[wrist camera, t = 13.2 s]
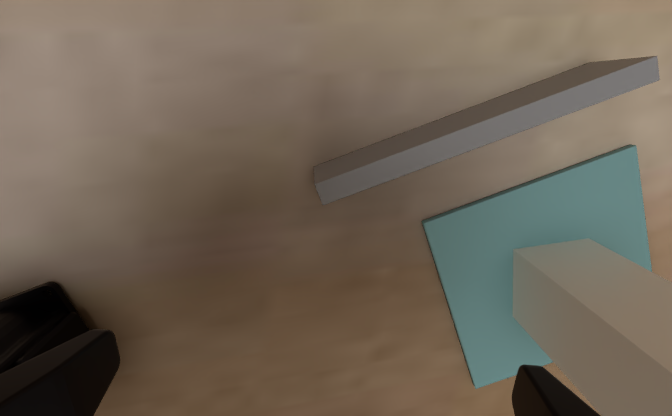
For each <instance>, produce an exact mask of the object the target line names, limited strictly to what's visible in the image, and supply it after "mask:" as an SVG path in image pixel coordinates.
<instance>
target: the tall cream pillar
mask: <svg viewBox="0 0 672 416" xmlns="http://www.w3.org/2000/svg"><path fill="white" fill-rule="evenodd" d="M513 317H514V318H515V320H516V321H517V322H518V323H519V324H520V325H521V326H522V327H523V328H524V330H525V331H526V332H527V333H528V334H529V335H530V336H531V337H532V338H533V340H534V341H535V342H536V343H537V344H538V345H539V346H540V347H541V348H542V350H543V351H544V352H545V353H546V354H547V355H548V356H549V357H550V359H551V360H552V361H553V362H554V363H555V364H556V365H557V366H558V367H559V369H560V370H561V371H562V372H563V373H564V374H565V375H566V376H567V377H568V379H569V380H570V381H571V382H572V383H573V384H574V385H575V386H576V388H577V389H578V390H579V391H580V392H581V393H582V394H583V395H584V396H585V398H586V399H587V400H588V401H589V402H590V403H591V404H592V405H593V406H594V408H595V409H596V410H597V411H598V412H599V413H600V414H601V415H602V416H672V282H670V281H668V280H666V279H664V278H662V277H660V276H658V275H657V274H655V273H653V272H651V271H649V270H647V269H645V268H643V267H642V266H640V265H638V264H636V263H634V262H632V261H630V260H628V259H627V258H625V257H623V256H621V255H619V254H617V253H615V252H613V251H611V250H610V249H608V248H606V247H604V246H602V245H600V244H598V243H596V242H595V241H593V240H591V239H589V238H588V239H581V240H574V241H567V242H560V243H553V244H546V245H540V246H533V247H526V248H519V249H513Z"/></svg>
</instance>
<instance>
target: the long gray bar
mask: <svg viewBox="0 0 672 416" xmlns="http://www.w3.org/2000/svg"><path fill="white" fill-rule="evenodd" d="M658 80H659V70H658V60H657V56H651V57H641V58H631V59H620V60H610V61H600V62H590V63H587V64H584V65H582V66H579V67H576V68H574V69H571V70H568V71H566V72H563V73H561V74H558V75H555V76H553V77H550V78H547V79H545V80H542V81H539V82H537V83H534V84H531V85H529V86H526V87H523V88H521V89H518V90H515V91H513V92H510V93H508V94H505V95H502V96H500V97H497V98H494V99H492V100H489V101H486V102H484V103H481V104H478V105H476V106H473V107H470V108H468V109H465V110H463V111H460V112H457V113H455V114H452V115H449V116H447V117H444V118H441V119H439V120H436V121H433V122H431V123H428V124H425V125H423V126H420V127H418V128H415V129H412V130H410V131H407V132H404V133H402V134H399V135H396V136H394V137H391V138H388V139H386V140H383V141H380V142H378V143H375V144H372V145H370V146H367V147H365V148H362V149H359V150H357V151H354V152H351V153H349V154H346V155H343V156H341V157H338V158H335V159H333V160H330V161H327V162H325V163H322V164H320V165H317V166H314V184H315V187H316V189H317V192H318V194H319V197H320V200H321V202H322V205H326V204H328V203H331V202H334V201H336V200H339V199H342V198H344V197H347V196H350V195H353V194H355V193H358V192H361V191H363V190H366V189H369V188H371V187H374V186H377V185H379V184H382V183H385V182H387V181H390V180H393V179H395V178H398V177H401V176H403V175H406V174H409V173H412V172H414V171H417V170H420V169H422V168H425V167H428V166H430V165H433V164H436V163H438V162H441V161H444V160H446V159H449V158H452V157H454V156H457V155H460V154H463V153H465V152H468V151H471V150H473V149H476V148H479V147H481V146H484V145H487V144H489V143H492V142H495V141H497V140H500V139H503V138H505V137H508V136H511V135H514V134H516V133H519V132H522V131H524V130H527V129H530V128H532V127H535V126H538V125H540V124H543V123H546V122H548V121H551V120H554V119H556V118H559V117H562V116H564V115H567V114H570V113H573V112H575V111H578V110H581V109H583V108H586V107H589V106H591V105H594V104H597V103H599V102H602V101H605V100H607V99H610V98H613V97H615V96H618V95H621V94H624V93H626V92H629V91H632V90H634V89H637V88H640V87H642V86H645V85H648V84H650V83H653V82H656V81H658Z"/></svg>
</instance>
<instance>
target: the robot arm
mask: <svg viewBox="0 0 672 416" xmlns="http://www.w3.org/2000/svg"><path fill="white" fill-rule="evenodd" d="M47 290H49V291H51V292H52V294H49V293H48V291H47ZM119 364H120V355H119V351H118V347H117V343H116V339H115V335H114V333H113V332H112V331H110V330H103V329H93V330H90V331H89V329H88V328H87V326H86V325H85V323H84V322H83V320H82V319H81V317H80V316H79V314H78V313H77V311H76V310H75V308H74V307H73V305H72V304H71V302H70V301H69V299H68V298H67V296H66V295H65V293H64V292H63V290H62V289H61V287H60V286H59V285H58V284H56V283H52V282H49V283H45V284H42V285H40V286H37V287H34V288H32V289H29V290H26V291H24V292H21V293H18V294H16V295H13V296H10V297H8V298H5V299H2V300H0V416H94V414H95V412H96V410H97V408H98V406H99V404H100V402H101V400H102V399H103V397H104V395H105V393H106V391H107V389H108V387H109V385H110V383H111V382H112V380H113V378H114V376H115V374H116V372H117V370H118V368H119ZM512 405H513V409H514V414H515V416H600V415H599V414H598V413H597V412H596V411H594V410H593V409H592V408H591V407H590V406H588V405H587V404H586V403H585V402H584V401H583V400H581V399H580V398H579V397H578V396H577V395H575V394H574V393H573V392H572V391H571V390H570V389H568V388H567V387H566V386H565V385H564V384H562V383H561V382H560V381H559V380H558V379H557V378H555V377H554V376H553V375H552V374H551V373H549V372H548V371H547V370H546V369H545V368H543V367H541V366H538V365H526V364H523V365H521V366H520V367H519V369H518V372H517V376H516V380H515V384H514V388H513V392H512Z"/></svg>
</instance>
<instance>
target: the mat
mask: <svg viewBox="0 0 672 416" xmlns="http://www.w3.org/2000/svg"><path fill="white" fill-rule="evenodd" d="M422 224H423V227H424V230H425V234H426V237H427V240H428V243H429V246H430V249H431V252H432V256H433V259H434V262H435V265H436V268H437V271H438V274H439V278H440V281H441V284H442V287H443V290H444V293H445V297H446V300H447V303H448V306H449V309H450V312H451V315H452V319H453V322H454V325H455V328H456V331H457V334H458V338H459V341H460V344H461V347H462V350H463V353H464V356H465V360H466V363H467V366H468V369H469V372H470V375H471V379H472V382H473V385H474V386H475V388H476V389H477V388H480V387H483V386H485V385H488V384H491V383H494V382H497V381H500V380H503V379H506V378H509V377H512V376H514V375H517V372H518V369H519V367H520V366H521V365H523V364H526V365H538V366H543V365H546V364H549V363H552V362H553V361H552V360H551V359H550V357H549V356H548V355H547V354H546V353H545V352H544V351H543V350H542V348H541V347H540V346H539V345H538V344H537V343H536V342H535V341H534V340H533V338H532V337H531V336H530V335H529V334H528V333H527V332H526V331H525V330H524V328H523V327H522V326H521V325H520V324H519V323H518V322H517V321H516V320H515V318H514V317H513V249H519V248H526V247H533V246H540V245H546V244H553V243H560V242H567V241H574V240H581V239H588V238H589V239H591V240H593V241H595V242H596V243H598V244H600V245H602V246H604V247H606V248H608V249H610V250H611V251H613V252H615V253H617V254H619V255H621V256H623V257H625V258H627V259H628V260H630V261H632V262H634V263H636V264H638V265H640V266H642V267H643V268H645V269H647V270H649V271H651V272H652V269H651V261H650V253H649V245H648V237H647V229H646V221H645V213H644V205H643V197H642V189H641V181H640V172H639V164H638V156H637V148H636V145H628V146H625V147H622V148H619V149H617V150H614V151H611V152H609V153H606V154H603V155H600V156H598V157H595V158H592V159H589V160H587V161H584V162H581V163H579V164H576V165H573V166H570V167H568V168H565V169H562V170H559V171H557V172H554V173H551V174H549V175H546V176H543V177H540V178H538V179H535V180H532V181H530V182H527V183H524V184H521V185H519V186H516V187H513V188H510V189H508V190H505V191H502V192H500V193H497V194H494V195H491V196H489V197H486V198H483V199H480V200H478V201H475V202H472V203H470V204H467V205H464V206H461V207H459V208H456V209H453V210H450V211H448V212H445V213H442V214H440V215H437V216H434V217H431V218H429V219H426V220H423V221H422Z"/></svg>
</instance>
